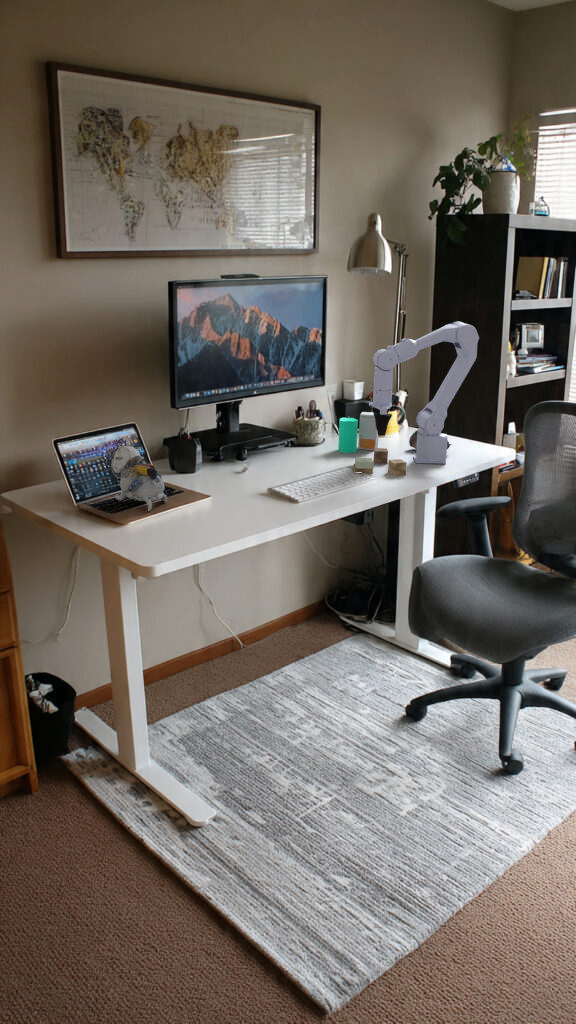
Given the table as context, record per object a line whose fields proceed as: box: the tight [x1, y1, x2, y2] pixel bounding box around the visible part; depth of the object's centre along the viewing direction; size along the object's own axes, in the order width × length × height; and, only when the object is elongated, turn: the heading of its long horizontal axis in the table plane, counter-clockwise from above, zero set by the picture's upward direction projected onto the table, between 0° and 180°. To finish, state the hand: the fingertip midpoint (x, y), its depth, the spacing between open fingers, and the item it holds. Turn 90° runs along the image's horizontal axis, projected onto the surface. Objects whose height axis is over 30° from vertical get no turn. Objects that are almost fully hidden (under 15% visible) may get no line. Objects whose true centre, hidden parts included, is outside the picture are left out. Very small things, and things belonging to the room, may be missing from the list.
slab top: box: [354, 457, 374, 470], centre depth 253 cm, size 5×5×2 cm
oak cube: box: [387, 458, 408, 477], centre depth 251 cm, size 4×4×4 cm
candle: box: [337, 417, 359, 454], centre depth 274 cm, size 6×6×12 cm
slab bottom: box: [353, 463, 374, 475], centre depth 253 cm, size 6×6×2 cm
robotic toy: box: [107, 445, 168, 511], centre depth 218 cm, size 13×17×15 cm
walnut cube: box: [373, 447, 389, 465], centre depth 263 cm, size 4×4×4 cm
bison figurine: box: [408, 429, 452, 450], centre depth 276 cm, size 12×7×10 cm
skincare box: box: [357, 411, 379, 451], centre depth 277 cm, size 6×4×12 cm
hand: (380, 432), depth 261 cm, fingers open, 7 cm apart
